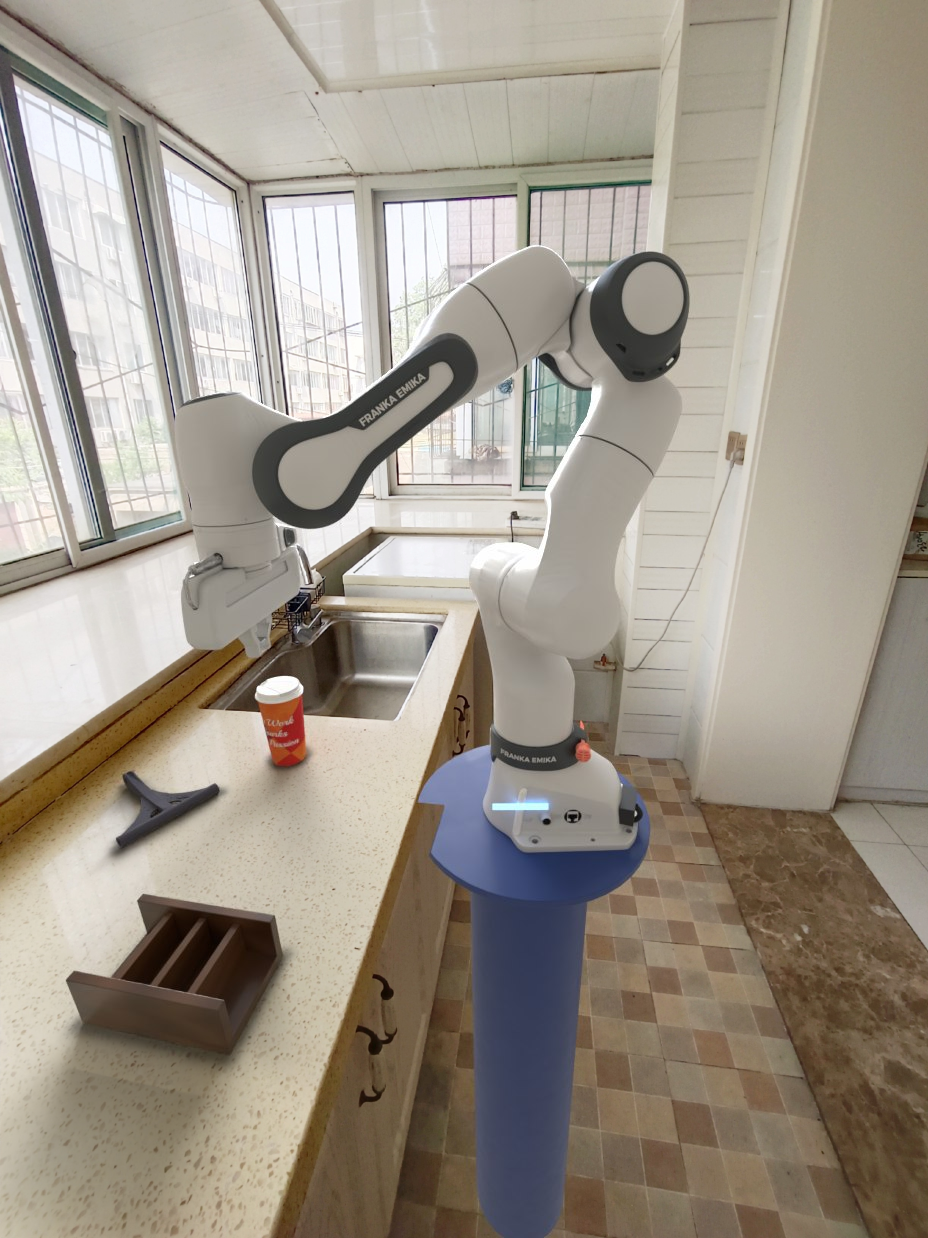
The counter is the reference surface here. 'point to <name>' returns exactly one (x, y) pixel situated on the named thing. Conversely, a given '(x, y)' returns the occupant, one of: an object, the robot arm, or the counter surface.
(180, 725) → the counter surface
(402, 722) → the counter surface
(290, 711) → the paper cup
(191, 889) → the counter surface
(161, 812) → the bracket
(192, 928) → the rack
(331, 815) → the counter surface
